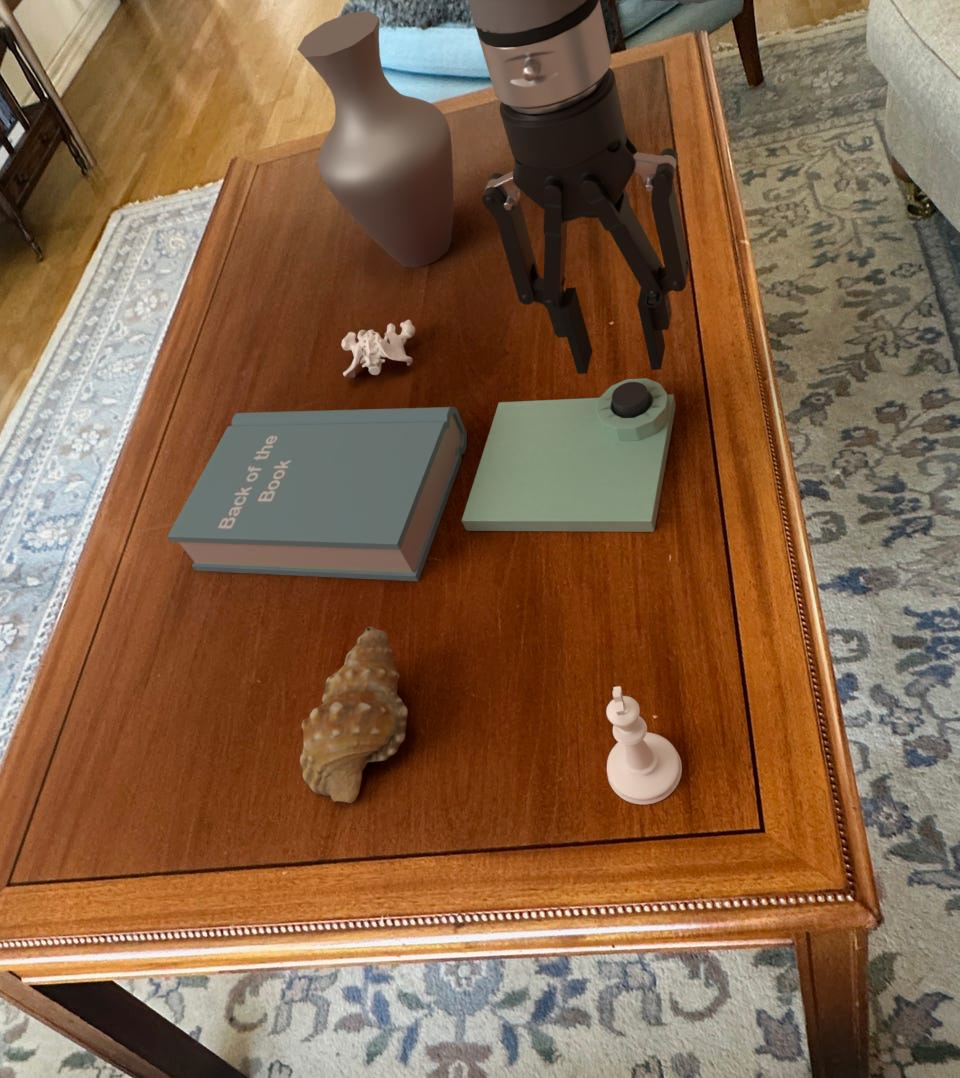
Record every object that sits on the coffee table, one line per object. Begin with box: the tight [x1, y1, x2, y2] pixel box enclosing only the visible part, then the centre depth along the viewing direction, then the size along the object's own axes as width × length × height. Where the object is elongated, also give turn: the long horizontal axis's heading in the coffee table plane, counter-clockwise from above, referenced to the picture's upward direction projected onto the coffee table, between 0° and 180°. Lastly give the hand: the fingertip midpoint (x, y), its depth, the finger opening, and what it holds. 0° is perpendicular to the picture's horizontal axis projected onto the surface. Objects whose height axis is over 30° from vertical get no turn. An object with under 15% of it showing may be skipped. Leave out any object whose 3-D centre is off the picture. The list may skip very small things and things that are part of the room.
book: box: [166, 406, 468, 582], centre depth 88 cm, size 23×16×5 cm
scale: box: [461, 377, 677, 533], centre depth 83 cm, size 16×14×3 cm
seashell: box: [299, 626, 409, 804], centre depth 71 cm, size 9×8×10 cm
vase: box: [296, 10, 454, 269], centre depth 103 cm, size 14×14×25 cm
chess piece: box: [605, 685, 683, 806], centre depth 61 cm, size 5×5×10 cm
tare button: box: [612, 382, 650, 418], centre depth 82 cm, size 3×3×1 cm
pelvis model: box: [340, 319, 416, 379], centre depth 99 cm, size 8×4×7 cm
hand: (621, 359), depth 79 cm, fingers open, 5 cm apart
